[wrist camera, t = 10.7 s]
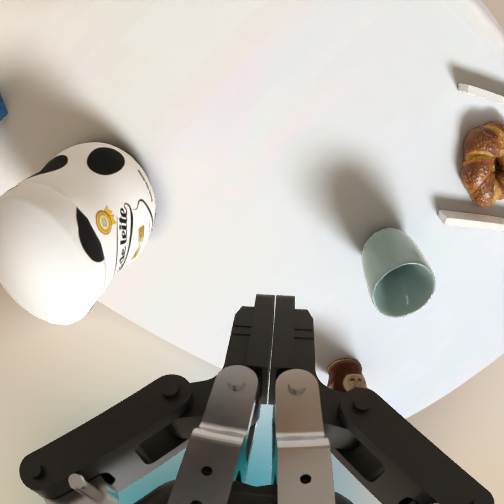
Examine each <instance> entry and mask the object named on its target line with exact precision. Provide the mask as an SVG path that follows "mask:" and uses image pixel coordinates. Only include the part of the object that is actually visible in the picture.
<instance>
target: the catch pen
mask: <svg viewBox="0 0 504 504" xmlns="http://www.w3.org/2000/svg"><path fill="white" fill-rule="evenodd" d="M458 91H461V92H464V93H468V94H471V95H474V96H478V97H481V98H484V99H487V100H490V101H493V102H496V103H499V104H502V105H504V97H503V96H501V95H498V94H495V93H492V92H489V91H486V90H483V89H480V88H477V87H474V86H471V85H467V84H461V83H459V84H458ZM438 217H439V218H440V220H441V221H442V222H443V223H444V224H445V225H452V226H462V227H472V228H481V229H490V230H498V231H504V218H502V217H495V216H488V215H480V214H473V213H465V212H457V211H448V210H440V209H439V213H438Z"/></svg>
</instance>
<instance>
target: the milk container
mask: <svg viewBox="0 0 504 504" xmlns="http://www.w3.org/2000/svg"><path fill="white" fill-rule="evenodd" d="M155 215H156V204H155V197H154V193H153V189H152V186H151V184H150V182H149V180H148V177H147V175H146V173H145V172H144V170H143V169H142V168H141V166H140V165H139V164H138V163H137V162H136V161H135V160H134V159H133V158H132V157H131V156H130V155H129V154H127V153H126V152H124V151H123V150H121V149H119V148H117V147H115V146H113V145H110V144H106V143H101V142H90V143H83V144H78V145H75V146H72V147H69V148H67V149H65V150H63V151H61V152H60V153H59V154H57V155H56V156H54V157H53V158H52V159H51V160H50V161H49V162H48V163H47V164H46V166H45V167H44V168H43V169H42V170H41V171H40V172H38V173H36V174H35V175H33V176H31V177H29V178H27V179H25V180H23V181H22V182H20V183H19V184H18V185H16V186H15V187H14V188H12V189H10V190H8V191H7V192H5V193H4V194H3V195H2V196H1V197H0V283H1V284H2V286H3V287H4V289H5V290H6V291H7V292H8V293H9V294H10V295H11V296H12V297H13V298H14V300H15V301H16V302H17V303H18V304H19V305H20V306H22V307H23V308H24V309H26V310H27V311H28V312H30V313H31V314H33V315H34V316H35V317H38V318H40V319H42V320H45V321H47V322H49V323H52V324H62V325H69V324H71V323H74V322H76V321H78V320H80V319H81V318H83V317H84V316H85V315H86V314H87V313H88V311H89V310H90V309H91V308H92V307H93V305H94V304H95V302H96V300H97V299H98V297H99V296H100V295H101V294H102V293H103V292H104V291H105V289H106V288H107V286H108V285H109V283H110V281H111V280H112V278H113V277H114V275H115V274H116V273H117V272H118V271H119V270H121V269H122V268H124V267H125V266H127V265H128V264H129V263H131V262H132V261H133V260H134V259H135V258H136V257H137V256H138V255H139V254H140V253H141V251H142V250H143V248H144V247H145V245H146V243H147V241H148V239H149V237H150V235H151V232H152V229H153V226H154V222H155Z"/></svg>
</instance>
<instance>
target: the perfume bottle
mask: <svg viewBox="0 0 504 504" xmlns="http://www.w3.org/2000/svg"><path fill="white" fill-rule="evenodd" d="M7 113H8V112H7V109H6V107H5V104H4V102H3V99H2V97H1V94H0V121H1V120H2V119H3V117H4V116H5V115H6V114H7Z"/></svg>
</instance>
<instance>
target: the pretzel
mask: <svg viewBox="0 0 504 504" xmlns="http://www.w3.org/2000/svg"><path fill="white" fill-rule="evenodd" d="M463 155H464V159H465V161H464V162H463V168H462V170H461V178H462V182H463V184H464V187H465V188H466V189H467V190H468V191H469V193H470V197H471V199H472V201H473V202H474V203H475V204H476V205H478V206H481V207H488V206H490V205H492V204H493V203H494V202H495V200H501V199H504V123H502V122H499V121H491V122H489V123H487V124H485V125H484V126H483V127H482V126H481V127H477V128H475V129H473V130H471V131H470V132H469V133H468V134H467V136H466V138H465V140H464V144H463ZM496 157H497V162H498V165H497V166H496V169H495V165H494V161H495V158H496Z"/></svg>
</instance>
